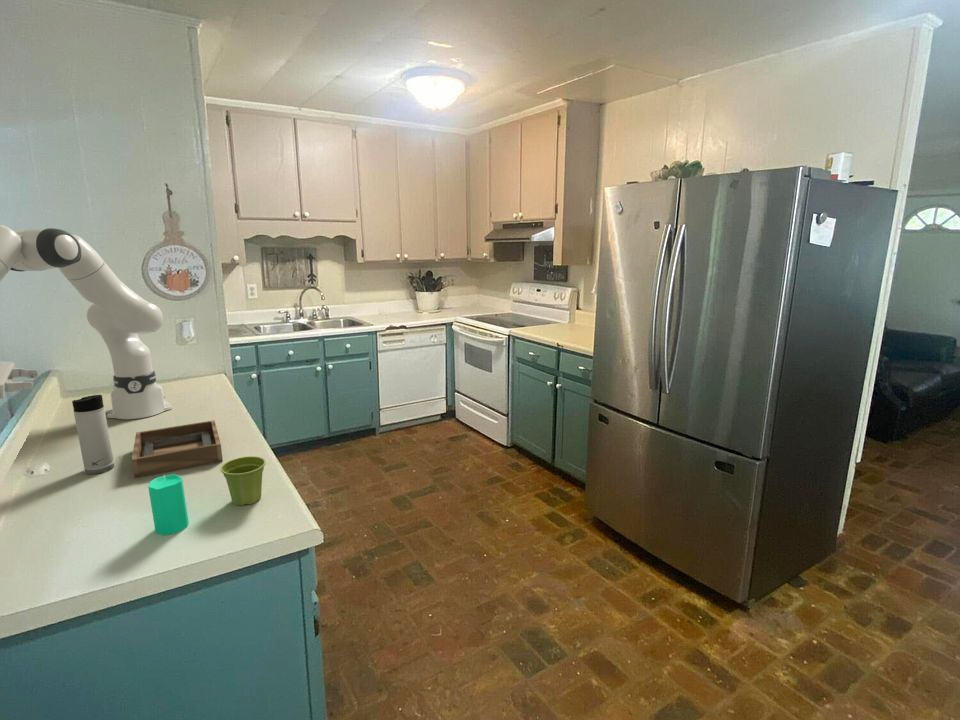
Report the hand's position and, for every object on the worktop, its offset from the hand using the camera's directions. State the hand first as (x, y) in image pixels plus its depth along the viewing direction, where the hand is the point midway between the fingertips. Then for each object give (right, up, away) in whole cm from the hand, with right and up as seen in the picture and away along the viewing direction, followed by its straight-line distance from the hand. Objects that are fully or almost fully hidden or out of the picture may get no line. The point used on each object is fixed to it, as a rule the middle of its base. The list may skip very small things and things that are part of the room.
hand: (35, 379), depth 125 cm
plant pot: (+53, -28, -5) cm, 60 cm away
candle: (+43, -30, -17) cm, 55 cm away
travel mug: (+8, -24, +11) cm, 27 cm away
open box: (+23, -22, +19) cm, 37 cm away
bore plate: (+23, -22, +19) cm, 37 cm away
